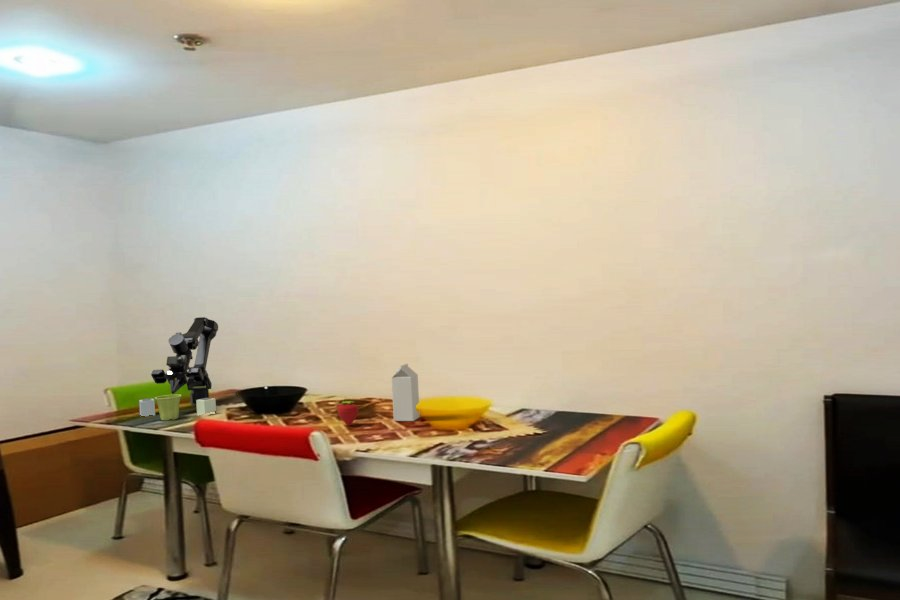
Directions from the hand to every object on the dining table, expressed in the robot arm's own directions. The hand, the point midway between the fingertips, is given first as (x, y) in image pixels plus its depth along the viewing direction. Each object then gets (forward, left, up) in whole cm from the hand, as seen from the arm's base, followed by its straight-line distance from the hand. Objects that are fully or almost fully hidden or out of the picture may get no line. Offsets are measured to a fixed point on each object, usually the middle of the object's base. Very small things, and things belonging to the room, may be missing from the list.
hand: (172, 393), depth 260 cm
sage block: (-10, +6, -9) cm, 15 cm away
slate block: (+6, -14, -9) cm, 17 cm away
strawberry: (-34, +71, -9) cm, 80 cm away
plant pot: (+3, +3, -9) cm, 10 cm away
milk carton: (-53, +78, -9) cm, 95 cm away
